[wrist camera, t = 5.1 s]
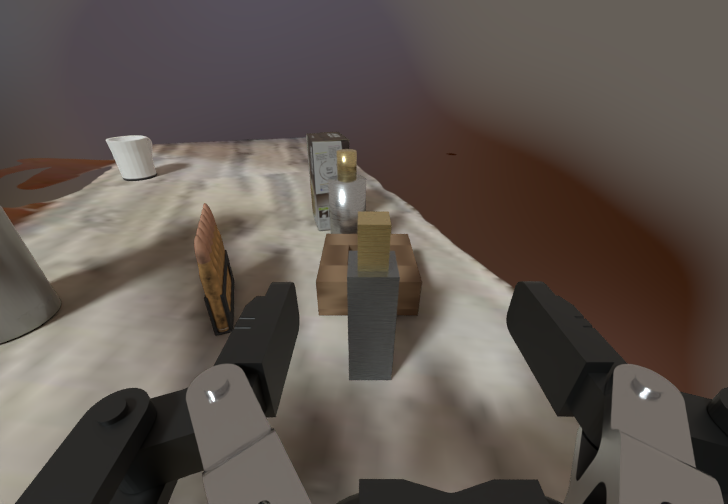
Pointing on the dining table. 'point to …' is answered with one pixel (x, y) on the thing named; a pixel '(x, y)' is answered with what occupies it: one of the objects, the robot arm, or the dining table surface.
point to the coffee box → (323, 171)
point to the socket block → (336, 265)
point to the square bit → (372, 299)
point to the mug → (133, 157)
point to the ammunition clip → (215, 273)
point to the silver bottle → (346, 194)
